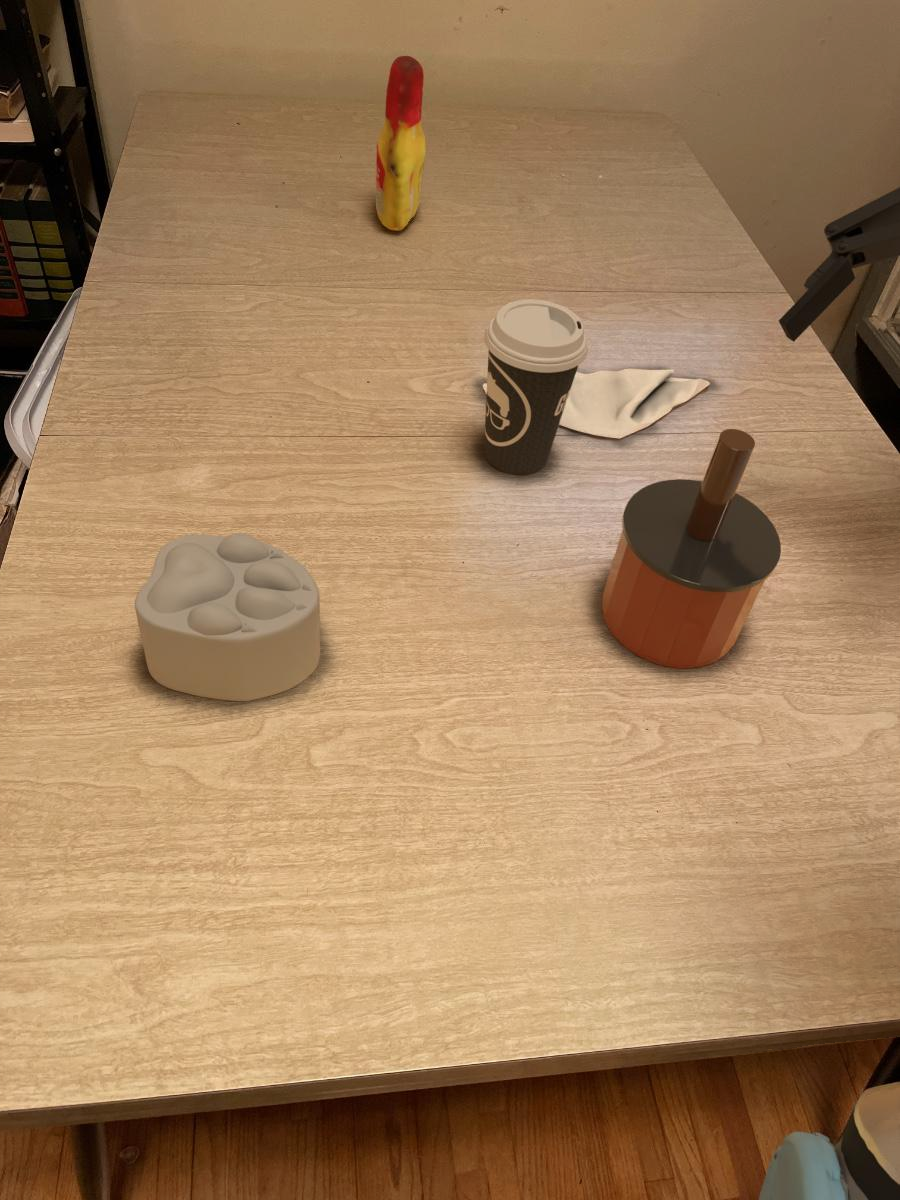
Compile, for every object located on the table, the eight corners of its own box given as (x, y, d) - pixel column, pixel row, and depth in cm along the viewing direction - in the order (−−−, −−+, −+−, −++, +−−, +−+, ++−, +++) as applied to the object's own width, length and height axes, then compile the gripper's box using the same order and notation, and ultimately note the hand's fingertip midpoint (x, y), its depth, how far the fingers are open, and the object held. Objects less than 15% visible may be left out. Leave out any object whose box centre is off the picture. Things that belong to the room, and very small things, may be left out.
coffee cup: (546, 496, 93) (576, 363, 82) (454, 467, 95) (472, 332, 84) (573, 442, 99) (604, 311, 89) (486, 415, 101) (506, 284, 90)
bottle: (413, 241, 126) (425, 77, 111) (365, 234, 126) (370, 69, 111) (425, 202, 134) (437, 44, 119) (380, 195, 134) (387, 36, 119)
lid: (807, 579, 75) (860, 479, 68) (670, 613, 71) (710, 510, 64) (721, 479, 83) (760, 379, 76) (593, 504, 79) (621, 401, 72)
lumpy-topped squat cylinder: (179, 589, 80) (167, 511, 74) (332, 614, 80) (333, 538, 74) (135, 685, 73) (118, 609, 67) (303, 713, 73) (301, 639, 67)
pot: (762, 650, 82) (803, 572, 75) (643, 682, 78) (674, 603, 71) (691, 556, 89) (722, 477, 82) (578, 582, 85) (600, 501, 79)
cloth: (484, 431, 99) (487, 413, 98) (480, 357, 109) (483, 339, 107) (730, 449, 101) (737, 431, 99) (705, 374, 110) (711, 357, 109)
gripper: (1244, 257, 64) (991, 492, 68) (943, 115, 78) (749, 319, 82) (1260, 190, 58) (982, 452, 62) (931, 49, 72) (723, 272, 76)
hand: (849, 377), depth 72 cm, fingers open, 13 cm apart
